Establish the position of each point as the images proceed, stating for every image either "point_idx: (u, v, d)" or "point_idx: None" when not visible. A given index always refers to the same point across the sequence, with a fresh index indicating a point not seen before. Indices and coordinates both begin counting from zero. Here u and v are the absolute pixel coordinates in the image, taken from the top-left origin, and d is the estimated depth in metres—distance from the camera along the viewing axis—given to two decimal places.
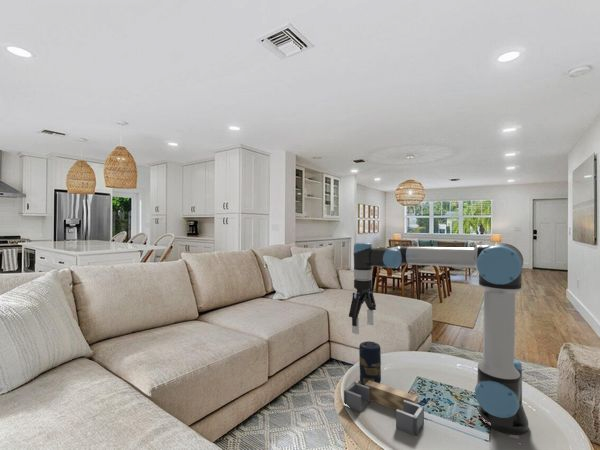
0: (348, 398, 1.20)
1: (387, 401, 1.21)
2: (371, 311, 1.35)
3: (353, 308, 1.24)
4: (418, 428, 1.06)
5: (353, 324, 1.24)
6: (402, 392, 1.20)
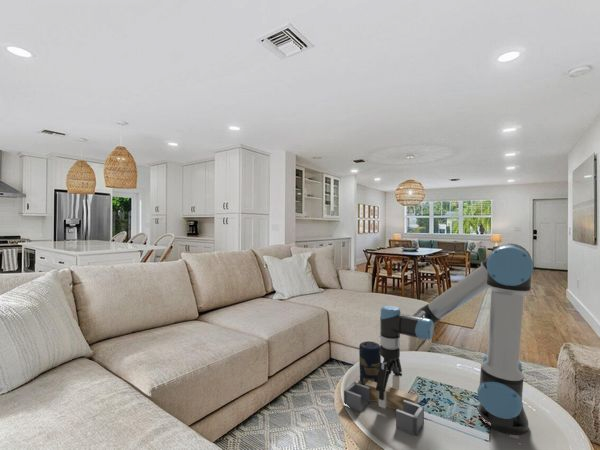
0: (348, 398, 1.20)
1: (387, 401, 1.21)
2: (397, 377, 1.27)
3: (381, 381, 1.15)
4: (418, 428, 1.06)
5: (380, 398, 1.16)
6: (402, 392, 1.20)
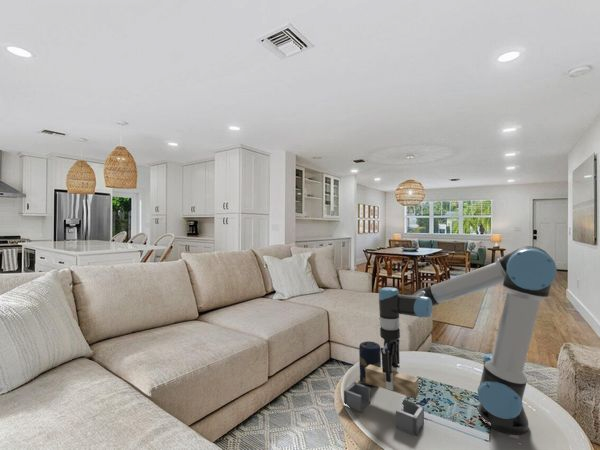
0: (348, 398, 1.20)
1: None
2: (395, 369, 1.23)
3: (385, 364, 1.17)
4: (418, 428, 1.06)
5: (387, 380, 1.19)
6: (403, 374, 1.20)
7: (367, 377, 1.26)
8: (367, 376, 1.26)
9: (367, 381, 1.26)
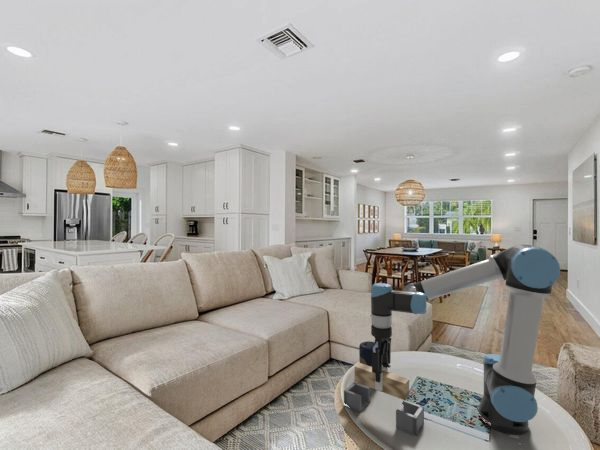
0: (348, 398, 1.20)
1: None
2: (385, 369, 1.17)
3: (375, 364, 1.11)
4: (418, 428, 1.06)
5: (376, 380, 1.13)
6: (393, 375, 1.14)
7: (356, 376, 1.20)
8: (356, 375, 1.20)
9: (356, 380, 1.20)
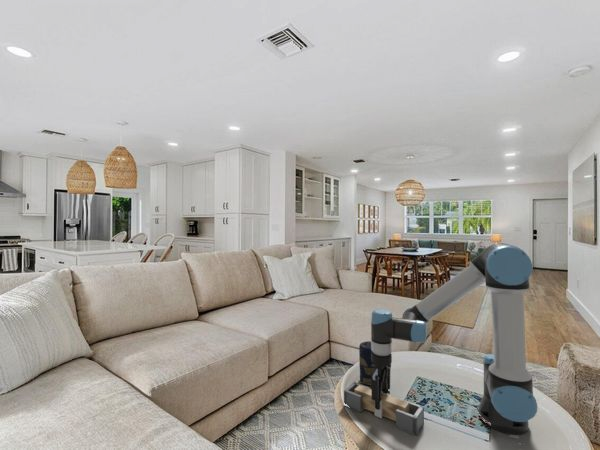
0: (348, 398, 1.20)
1: None
2: None
3: (375, 392, 1.11)
4: (418, 428, 1.06)
5: (376, 407, 1.13)
6: (393, 398, 1.14)
7: None
8: None
9: None
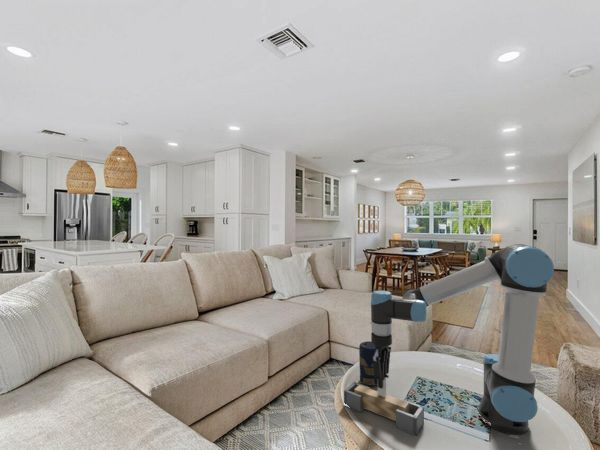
0: (348, 398, 1.20)
1: (377, 408, 1.15)
2: None
3: (377, 371, 1.12)
4: (418, 428, 1.06)
5: (379, 386, 1.14)
6: (393, 398, 1.14)
7: None
8: None
9: None
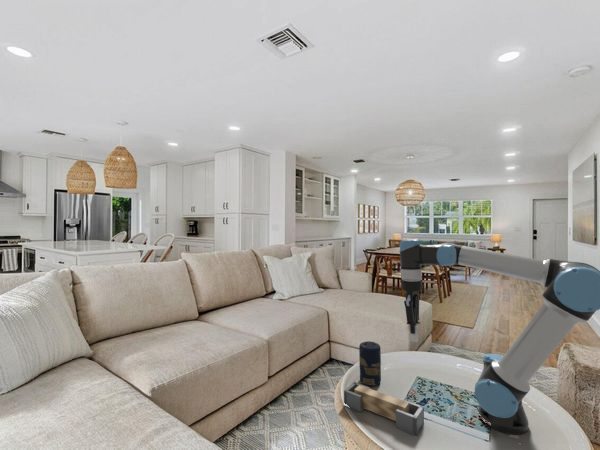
0: (348, 398, 1.20)
1: (377, 408, 1.15)
2: (415, 325, 1.17)
3: (410, 316, 1.14)
4: (418, 428, 1.06)
5: (412, 332, 1.16)
6: (393, 398, 1.14)
7: None
8: None
9: None
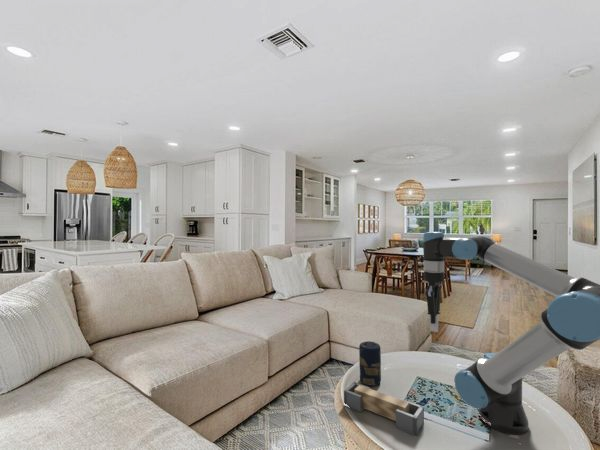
0: (348, 398, 1.20)
1: (377, 408, 1.15)
2: (436, 315, 1.20)
3: (431, 306, 1.17)
4: (418, 428, 1.06)
5: (432, 321, 1.19)
6: (393, 398, 1.14)
7: None
8: None
9: None
